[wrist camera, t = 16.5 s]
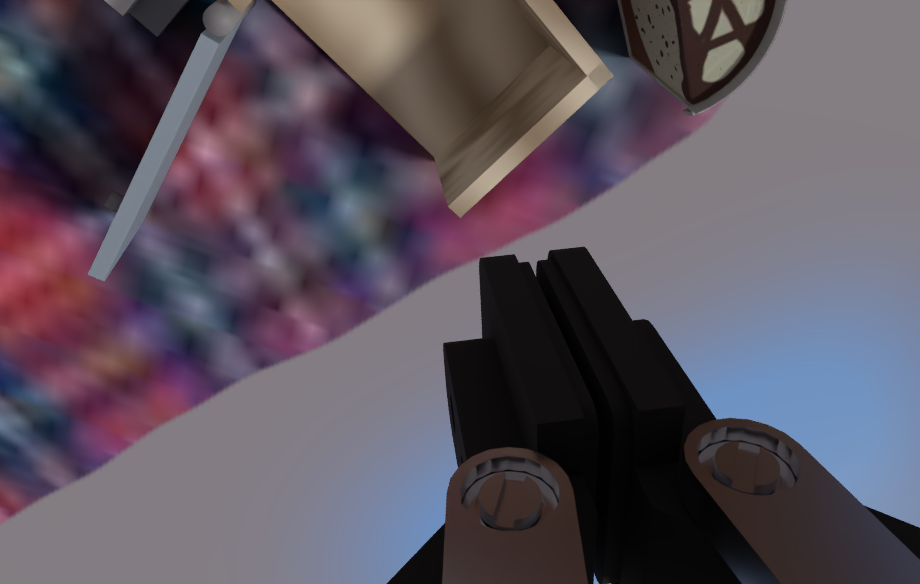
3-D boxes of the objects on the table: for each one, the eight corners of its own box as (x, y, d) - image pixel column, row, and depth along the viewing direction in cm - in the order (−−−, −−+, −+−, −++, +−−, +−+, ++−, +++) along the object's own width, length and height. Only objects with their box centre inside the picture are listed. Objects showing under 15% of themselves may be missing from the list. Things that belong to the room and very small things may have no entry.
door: (114, 207, 45) (67, 268, 38) (225, -30, 39) (194, -11, 32) (147, 222, 46) (107, 285, 38) (260, -7, 40) (239, 16, 33)
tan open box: (443, 163, 46) (460, 217, 39) (249, -25, 39) (222, -4, 32) (568, 43, 44) (613, 76, 36) (383, -183, 36) (390, -203, 29)
